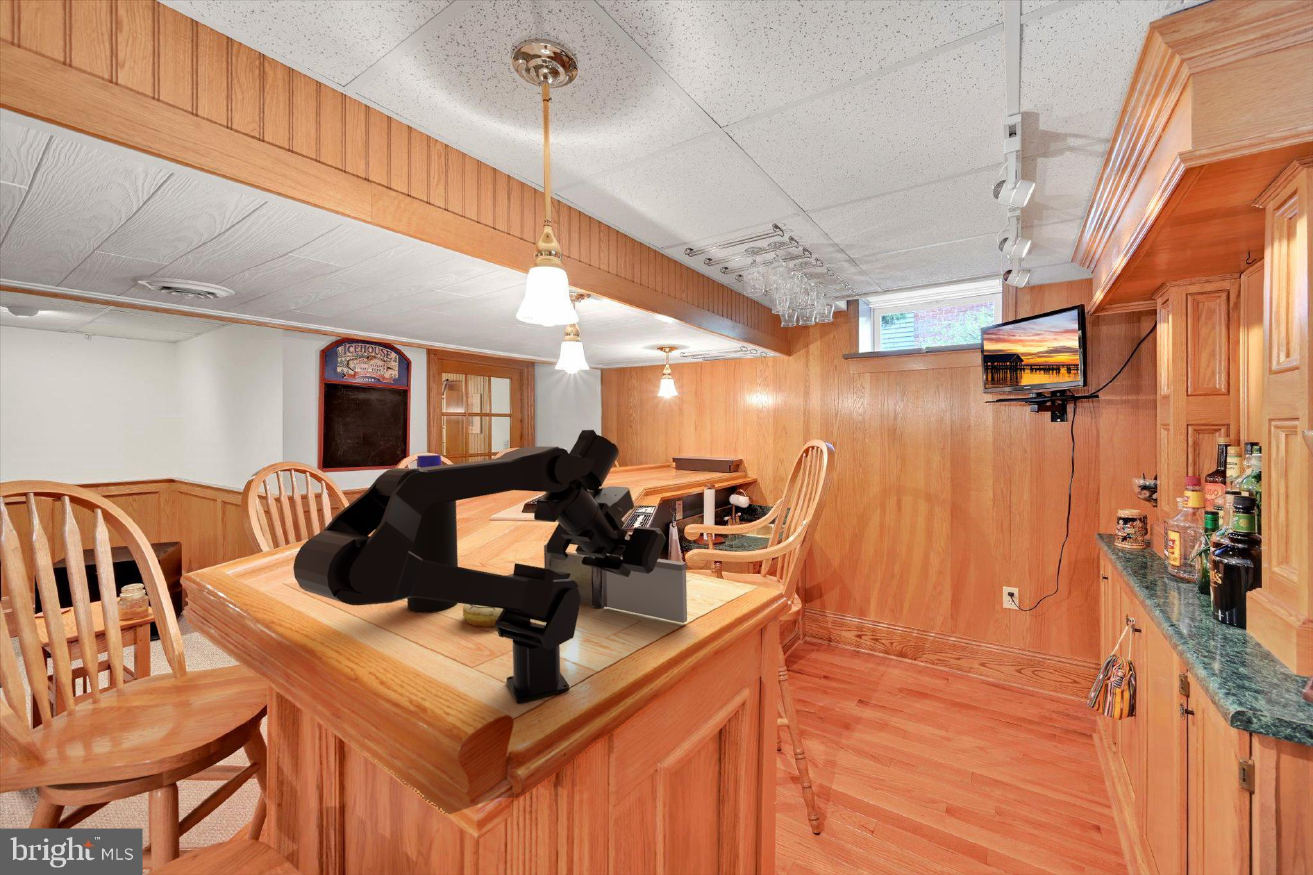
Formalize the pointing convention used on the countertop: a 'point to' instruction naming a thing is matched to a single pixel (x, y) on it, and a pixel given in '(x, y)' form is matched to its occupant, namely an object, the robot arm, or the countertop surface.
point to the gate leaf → (650, 591)
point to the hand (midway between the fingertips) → (627, 574)
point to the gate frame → (580, 577)
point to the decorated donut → (481, 615)
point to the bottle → (435, 539)
